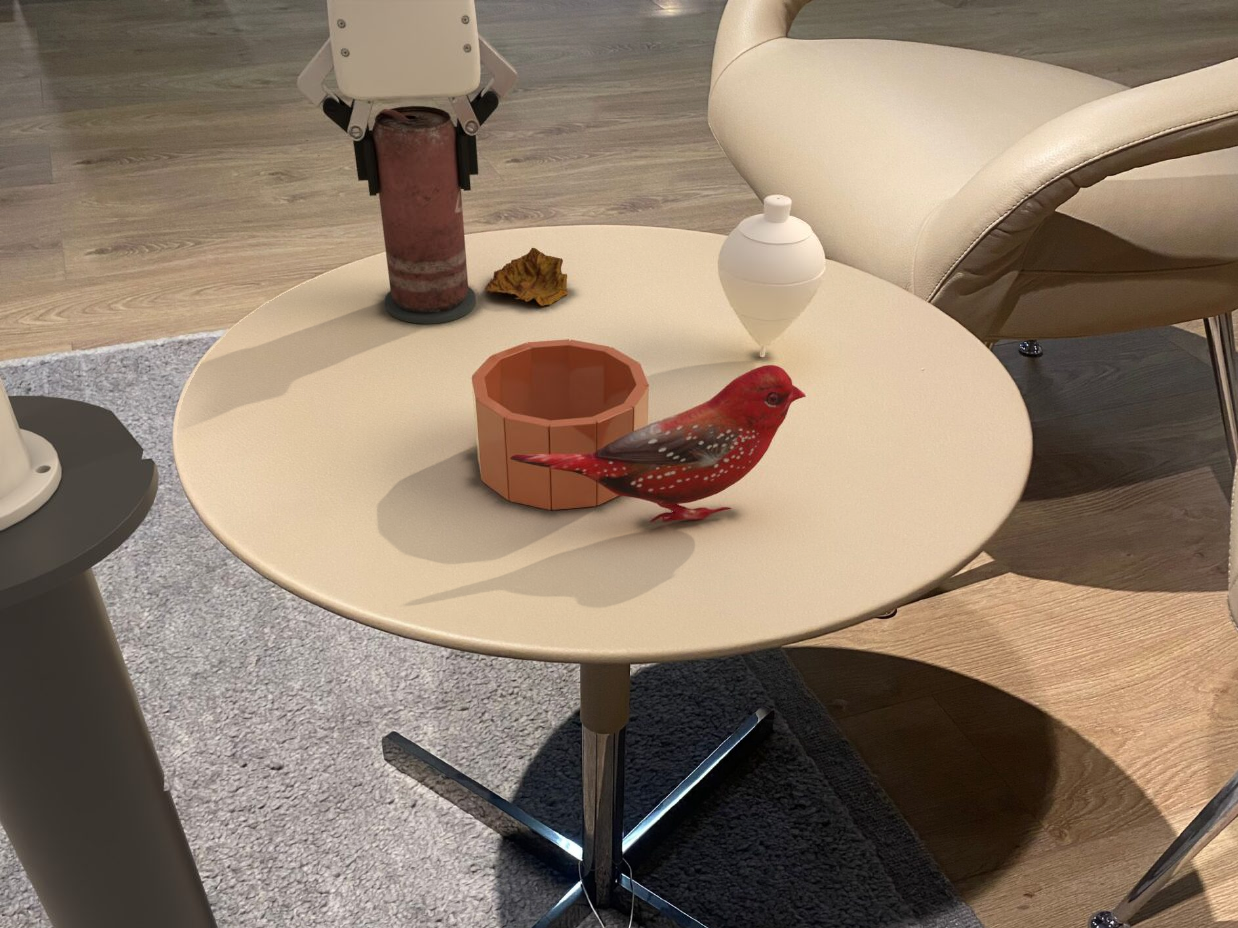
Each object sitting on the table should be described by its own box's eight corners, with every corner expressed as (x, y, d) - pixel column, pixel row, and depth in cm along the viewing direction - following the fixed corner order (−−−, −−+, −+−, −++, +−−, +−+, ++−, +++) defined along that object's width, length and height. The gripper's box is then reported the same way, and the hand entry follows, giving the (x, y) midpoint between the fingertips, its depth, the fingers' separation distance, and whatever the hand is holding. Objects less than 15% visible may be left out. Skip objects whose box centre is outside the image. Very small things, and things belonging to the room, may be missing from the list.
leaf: (470, 295, 97) (469, 277, 96) (521, 258, 101) (520, 240, 100) (535, 323, 95) (534, 305, 94) (583, 284, 99) (584, 266, 97)
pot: (487, 516, 73) (481, 432, 69) (472, 426, 81) (465, 346, 77) (659, 500, 75) (662, 417, 71) (627, 413, 83) (628, 334, 79)
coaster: (387, 327, 92) (386, 321, 92) (383, 287, 98) (383, 281, 97) (479, 320, 93) (479, 314, 93) (471, 281, 99) (471, 275, 98)
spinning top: (831, 371, 88) (854, 211, 80) (738, 389, 86) (752, 226, 78) (784, 326, 93) (801, 172, 86) (695, 342, 91) (704, 185, 83)
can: (410, 276, 98) (391, 98, 89) (481, 288, 96) (469, 108, 87) (374, 306, 94) (350, 122, 85) (447, 320, 92) (431, 134, 83)
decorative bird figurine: (800, 518, 74) (820, 373, 67) (519, 559, 70) (511, 410, 64) (783, 492, 76) (801, 349, 69) (510, 531, 72) (501, 384, 66)
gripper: (517, -102, 82) (527, 163, 93) (258, -98, 79) (302, 175, 91) (531, -80, 76) (540, 199, 88) (253, -75, 73) (301, 212, 85)
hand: (419, 184), depth 89 cm, fingers closed on can, 6 cm apart
